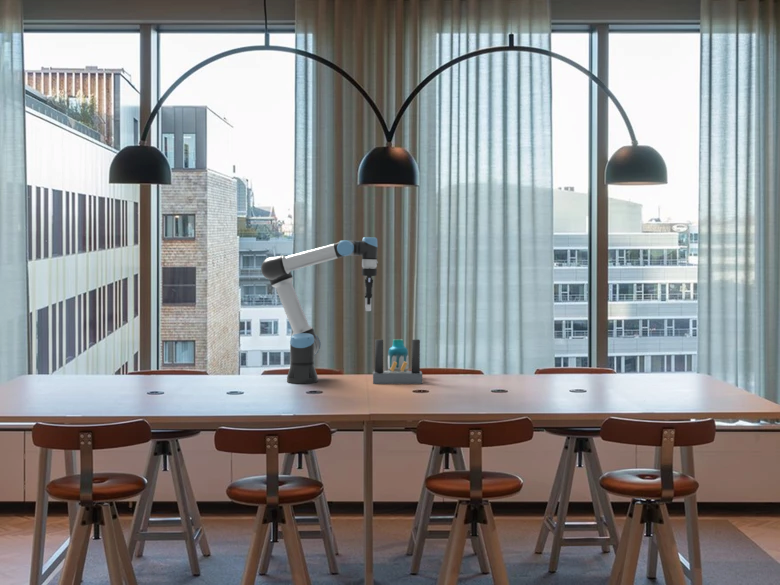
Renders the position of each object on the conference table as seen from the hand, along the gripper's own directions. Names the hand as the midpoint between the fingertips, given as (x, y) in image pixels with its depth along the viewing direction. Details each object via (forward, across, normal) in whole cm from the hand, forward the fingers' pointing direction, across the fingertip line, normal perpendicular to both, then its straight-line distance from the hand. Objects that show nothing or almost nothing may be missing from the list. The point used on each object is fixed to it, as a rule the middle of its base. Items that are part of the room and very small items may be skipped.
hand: (368, 310), depth 478 cm
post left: (+30, -12, -6) cm, 33 cm away
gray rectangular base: (+34, -12, -15) cm, 40 cm away
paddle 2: (+29, -12, -17) cm, 36 cm away
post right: (+29, -13, -24) cm, 40 cm away
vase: (+35, +8, -17) cm, 39 cm away
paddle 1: (+29, -12, -12) cm, 34 cm away
